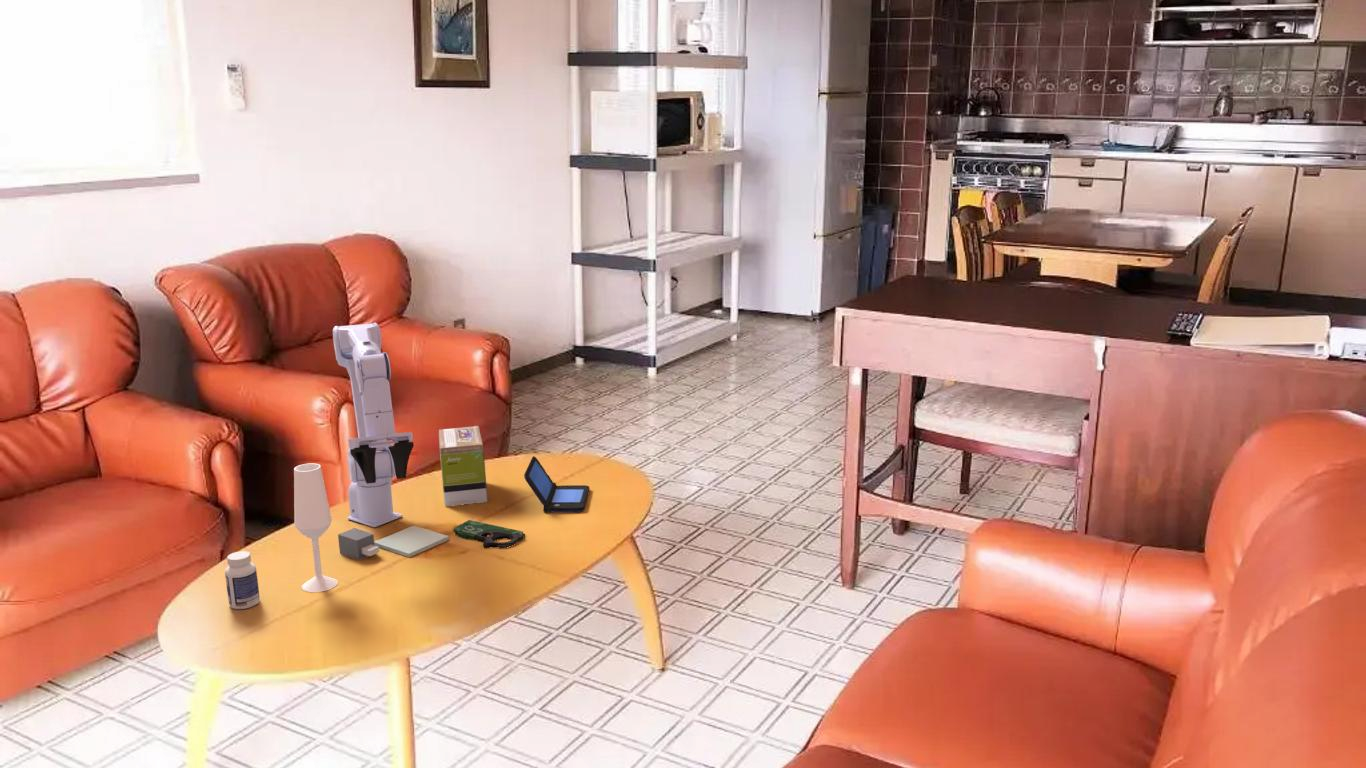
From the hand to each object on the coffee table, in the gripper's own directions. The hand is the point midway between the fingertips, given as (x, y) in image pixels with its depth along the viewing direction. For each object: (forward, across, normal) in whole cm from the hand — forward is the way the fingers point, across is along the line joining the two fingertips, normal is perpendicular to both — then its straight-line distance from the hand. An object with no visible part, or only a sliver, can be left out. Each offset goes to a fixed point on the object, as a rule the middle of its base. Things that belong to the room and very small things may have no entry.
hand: (386, 480), depth 217 cm
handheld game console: (+11, +46, -3) cm, 47 cm away
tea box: (+7, +37, +18) cm, 42 cm away
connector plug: (+15, +1, +12) cm, 19 cm away
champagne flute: (+18, -13, +7) cm, 24 cm away
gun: (+16, +22, -3) cm, 27 cm away
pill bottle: (+19, -26, +13) cm, 35 cm away
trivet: (+14, +11, +8) cm, 19 cm away
